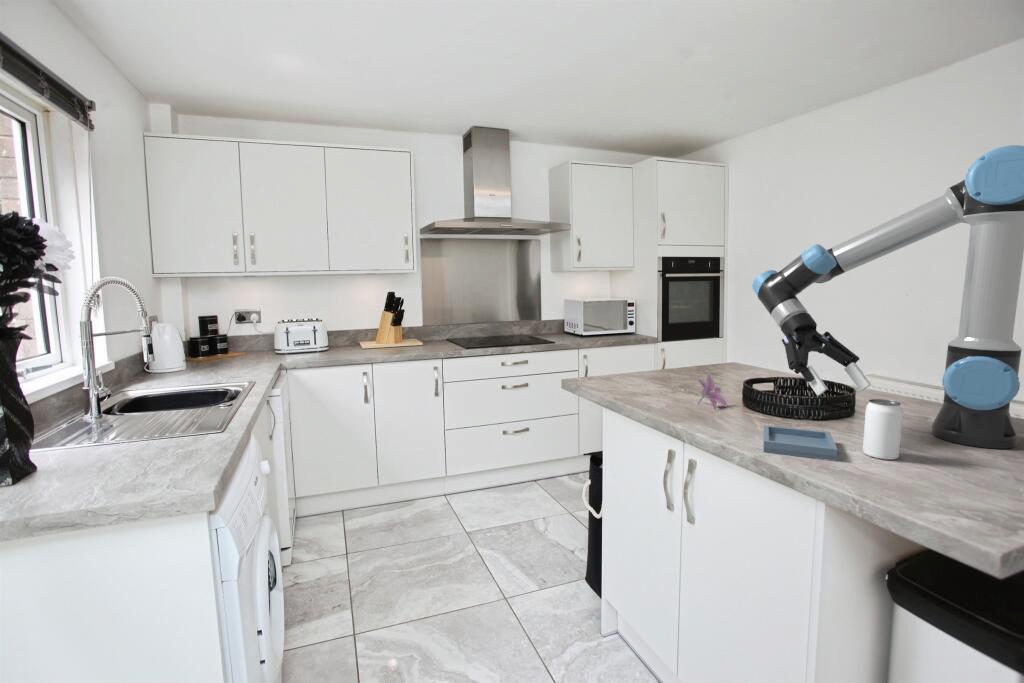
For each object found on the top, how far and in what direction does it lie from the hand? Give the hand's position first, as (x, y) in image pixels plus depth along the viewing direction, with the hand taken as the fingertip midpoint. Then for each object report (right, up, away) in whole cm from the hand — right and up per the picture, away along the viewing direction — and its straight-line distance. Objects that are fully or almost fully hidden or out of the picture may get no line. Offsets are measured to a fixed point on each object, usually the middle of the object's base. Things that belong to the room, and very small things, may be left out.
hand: (844, 390), depth 118 cm
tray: (-11, -13, -1) cm, 17 cm away
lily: (-17, -9, +38) cm, 42 cm away
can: (+3, -14, -7) cm, 16 cm away
